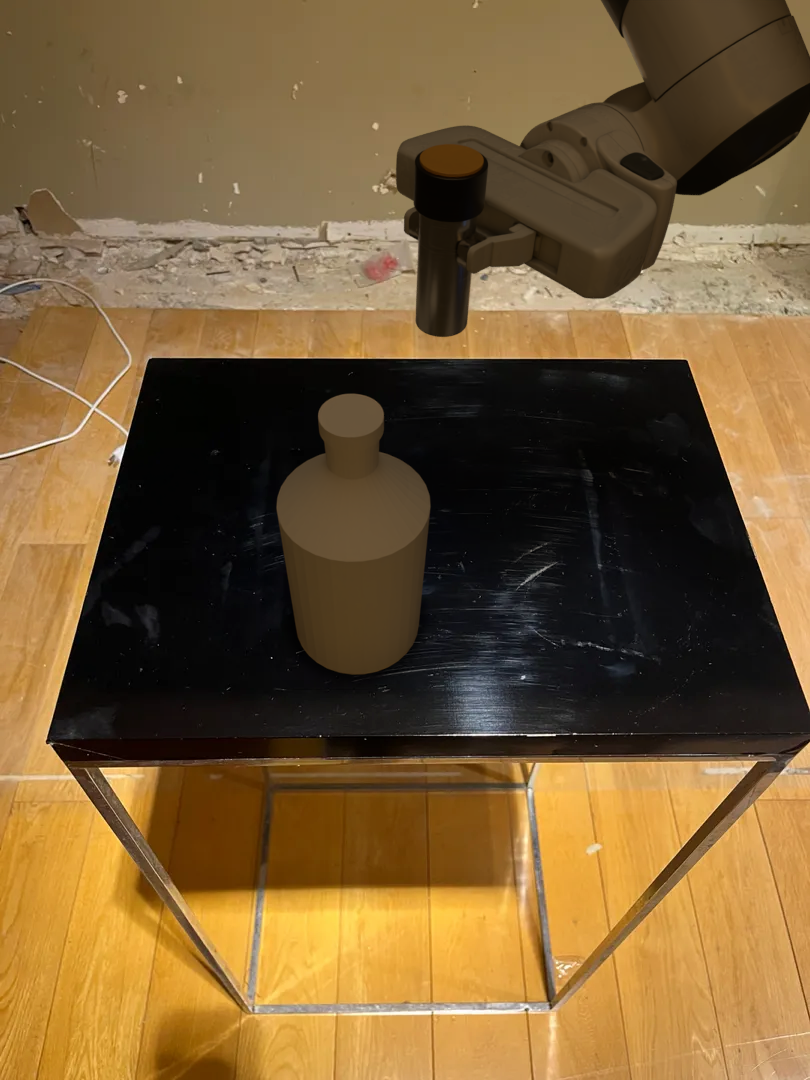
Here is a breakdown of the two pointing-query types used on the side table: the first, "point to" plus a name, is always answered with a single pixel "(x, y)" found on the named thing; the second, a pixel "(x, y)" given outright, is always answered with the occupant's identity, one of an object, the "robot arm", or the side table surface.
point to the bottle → (354, 543)
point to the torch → (446, 233)
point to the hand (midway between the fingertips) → (437, 243)
